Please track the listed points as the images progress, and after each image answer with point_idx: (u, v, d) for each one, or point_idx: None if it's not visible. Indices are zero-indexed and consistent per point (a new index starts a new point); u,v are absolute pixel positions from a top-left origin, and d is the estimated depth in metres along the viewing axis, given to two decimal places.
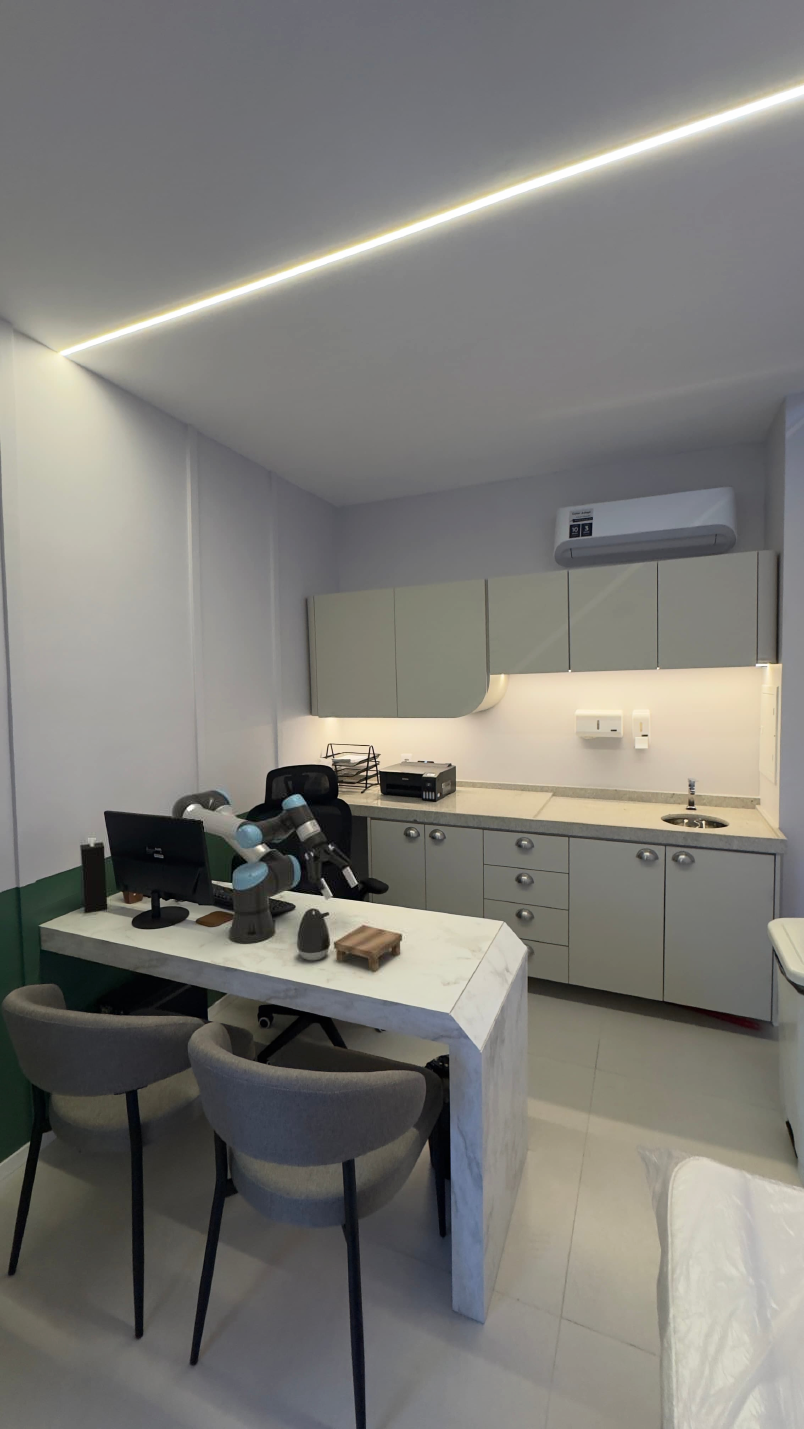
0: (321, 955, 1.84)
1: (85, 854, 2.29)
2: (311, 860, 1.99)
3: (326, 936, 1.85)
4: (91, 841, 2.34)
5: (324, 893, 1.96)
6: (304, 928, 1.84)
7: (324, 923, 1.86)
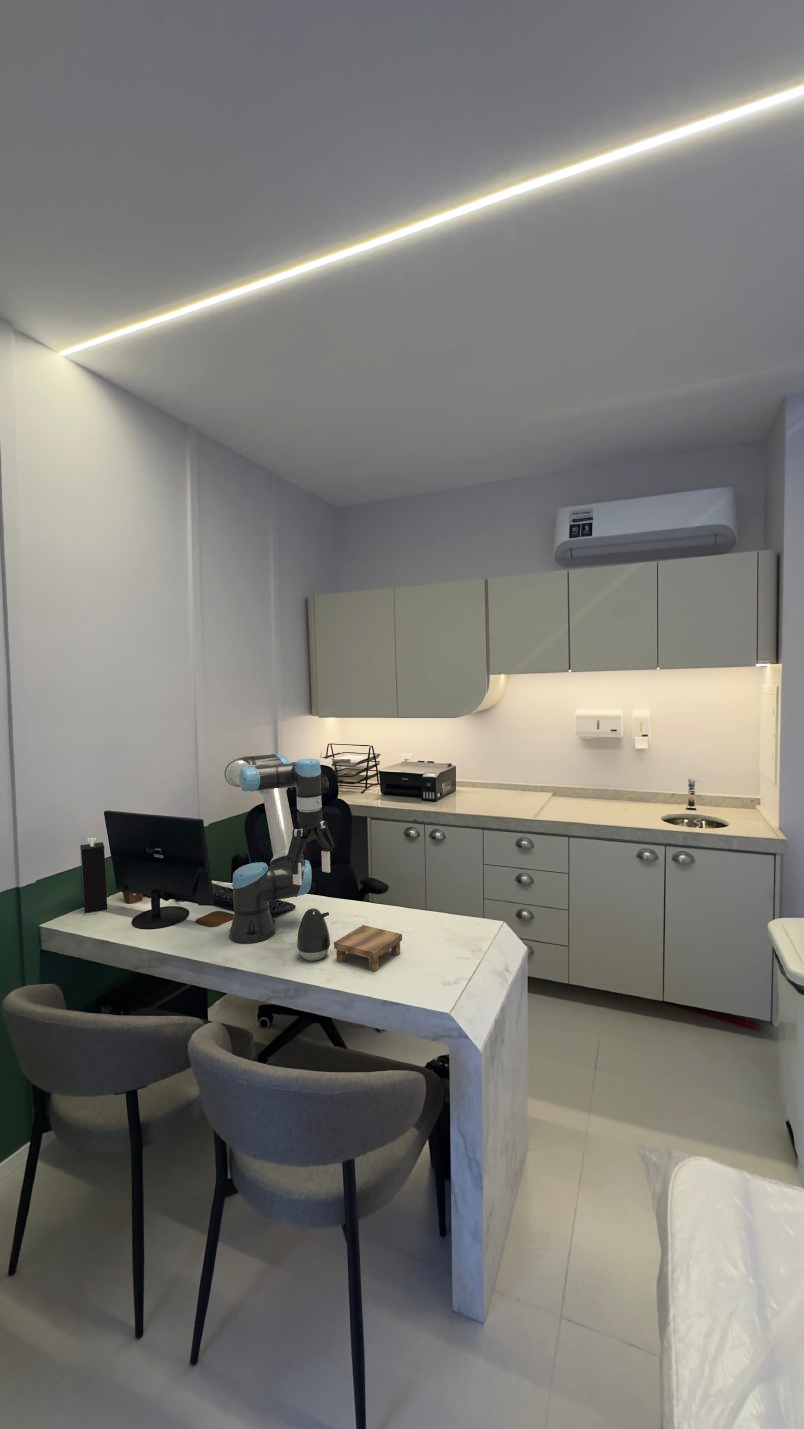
0: (321, 955, 1.84)
1: (85, 854, 2.29)
2: (298, 840, 1.80)
3: (326, 936, 1.85)
4: (91, 841, 2.34)
5: (294, 876, 1.81)
6: (304, 928, 1.84)
7: (324, 923, 1.86)
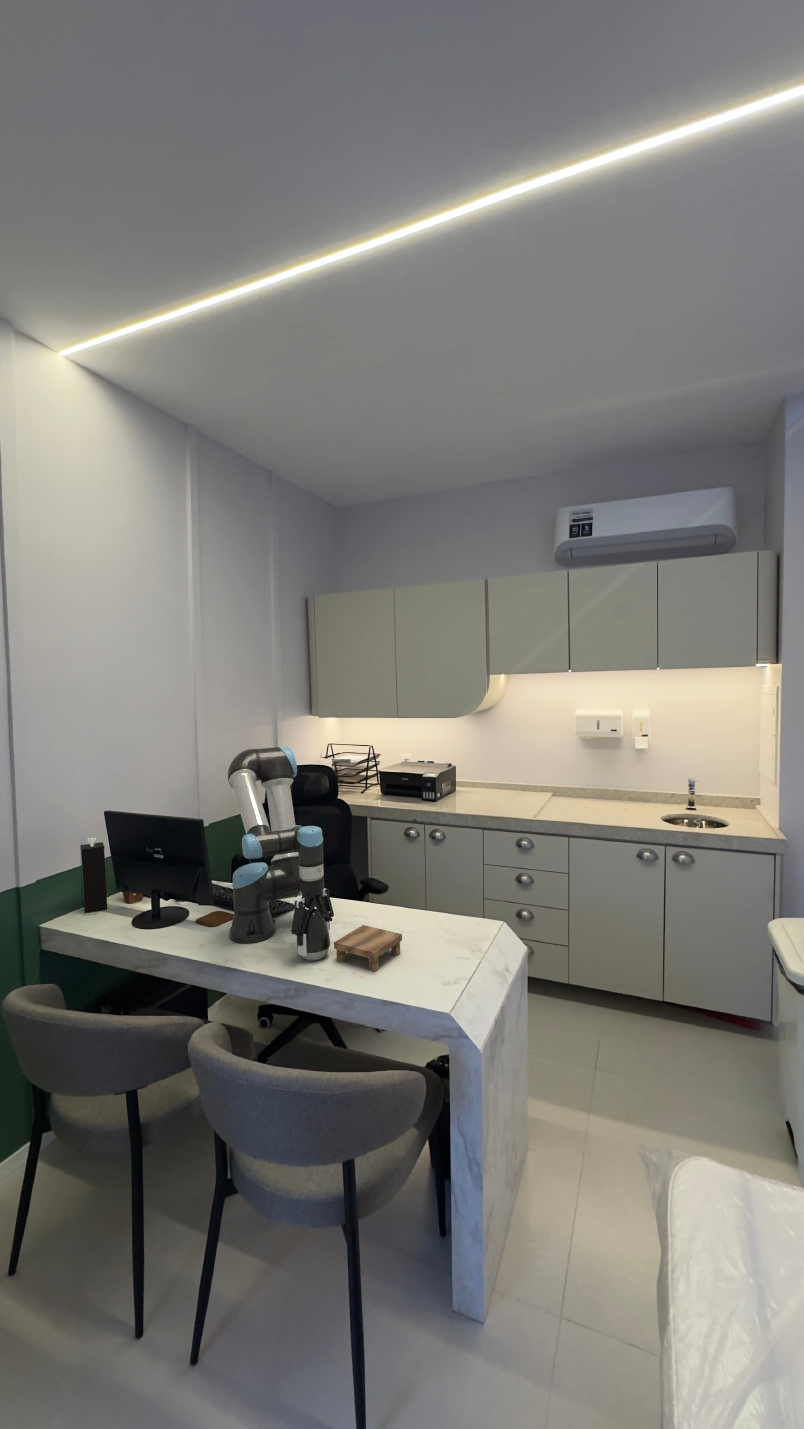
0: (321, 955, 1.84)
1: (85, 854, 2.29)
2: (301, 912, 1.81)
3: (326, 936, 1.85)
4: (91, 841, 2.34)
5: (299, 947, 1.83)
6: None
7: (324, 923, 1.86)
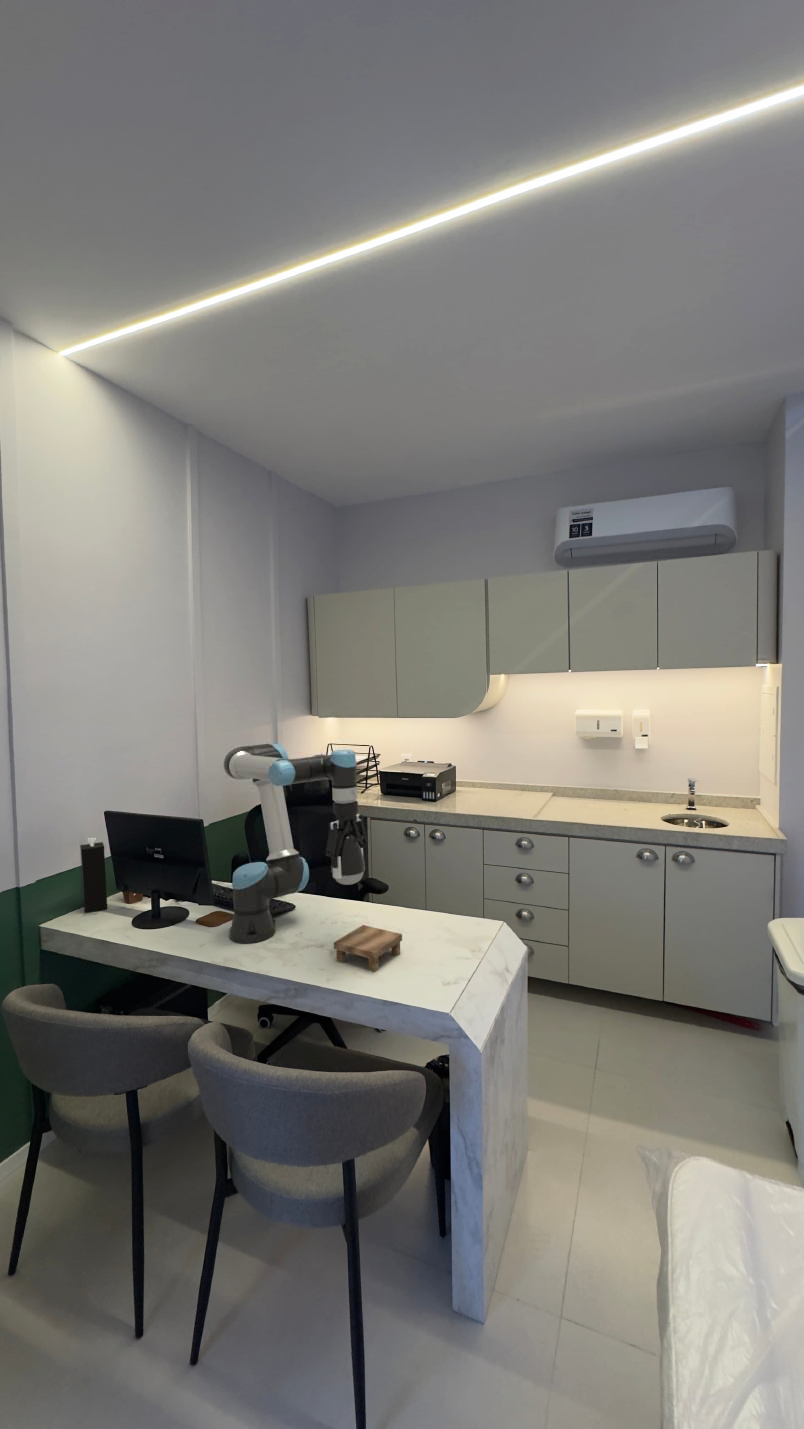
0: (356, 878, 1.82)
1: (85, 854, 2.29)
2: (335, 833, 1.78)
3: (360, 860, 1.83)
4: (91, 841, 2.34)
5: (334, 870, 1.81)
6: None
7: (358, 847, 1.84)
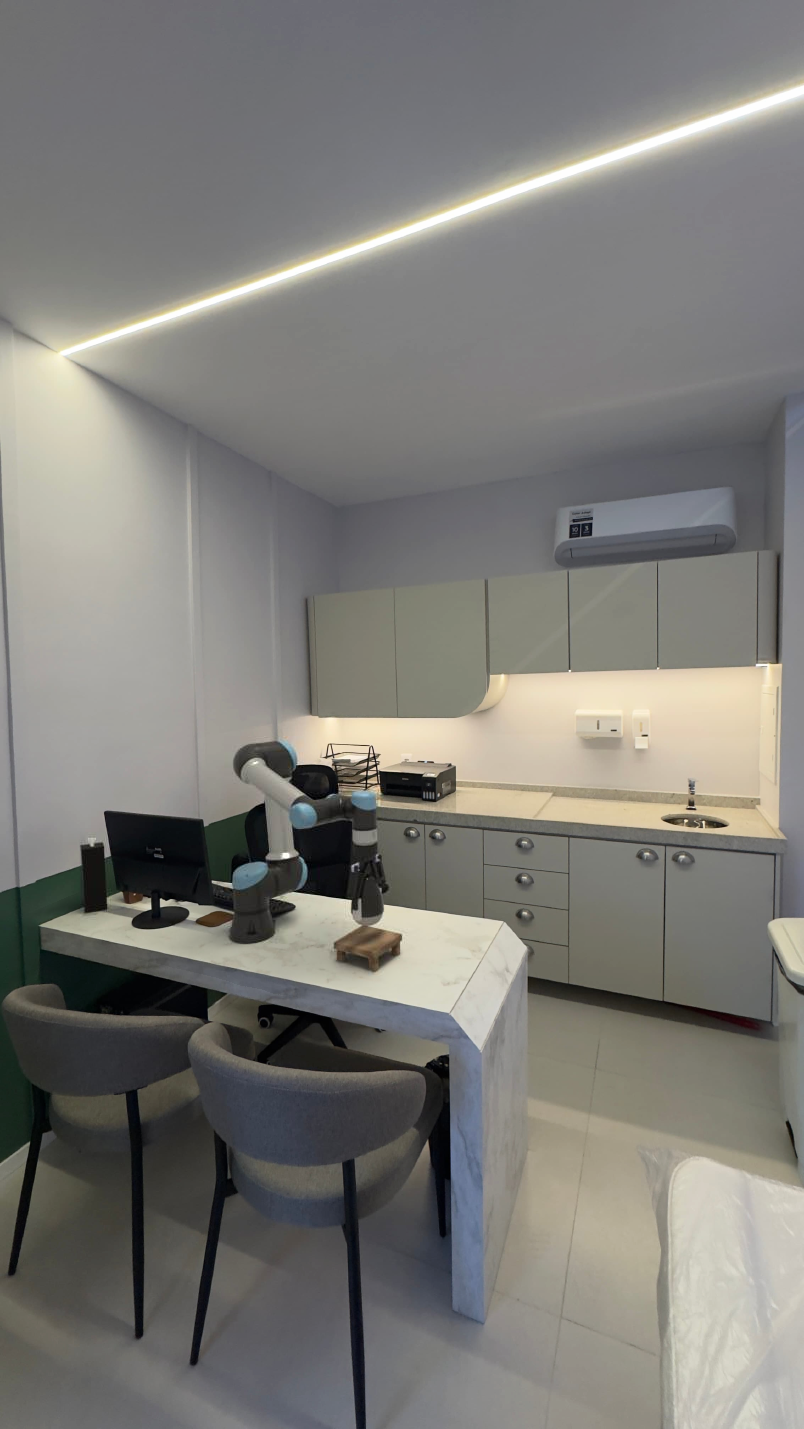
0: (376, 920, 1.82)
1: (85, 854, 2.29)
2: (356, 876, 1.79)
3: (380, 901, 1.83)
4: (91, 841, 2.34)
5: (354, 912, 1.81)
6: None
7: (378, 888, 1.84)
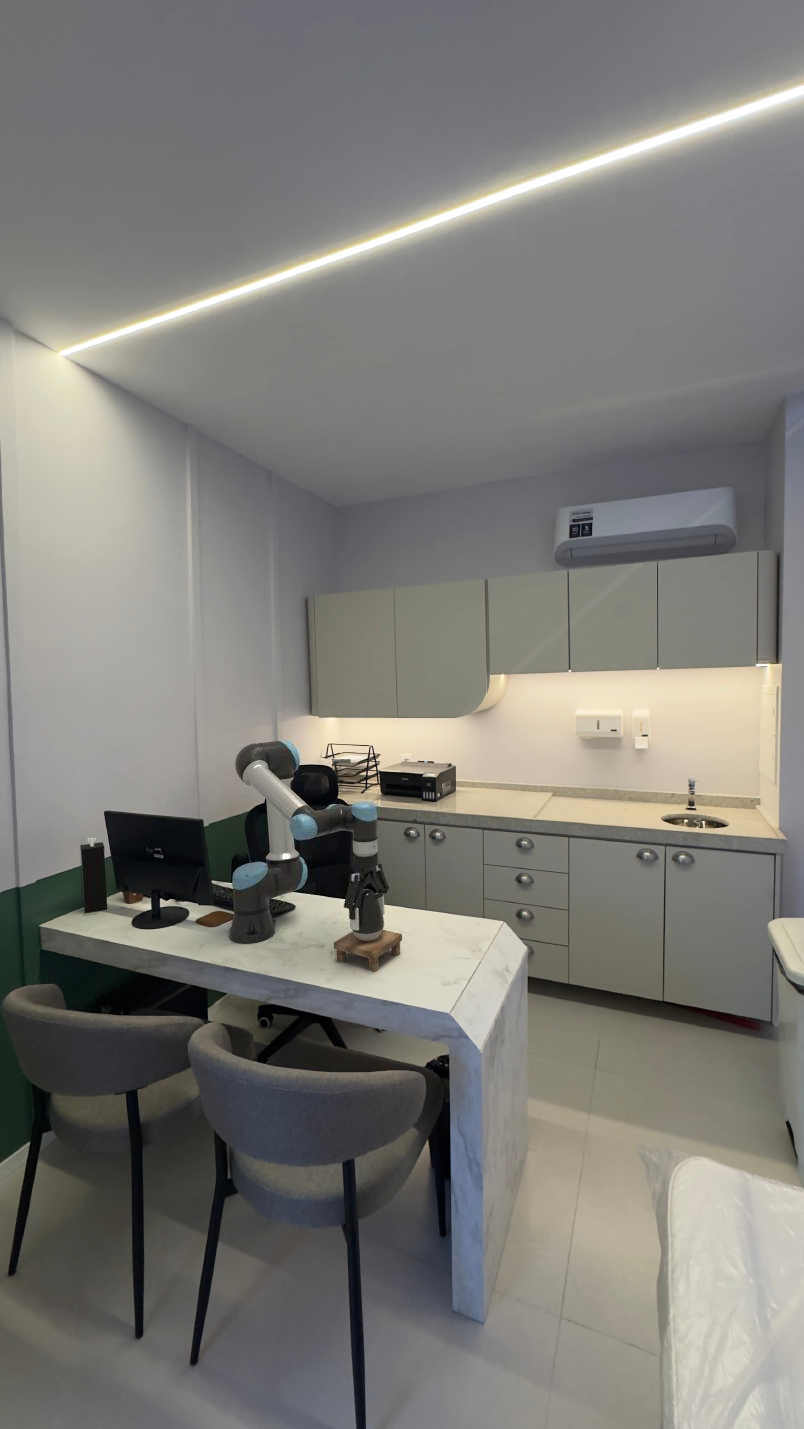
0: (376, 936, 1.83)
1: (85, 854, 2.29)
2: (355, 886, 1.79)
3: (380, 917, 1.83)
4: (91, 841, 2.34)
5: (351, 921, 1.80)
6: (359, 909, 1.82)
7: (378, 904, 1.84)
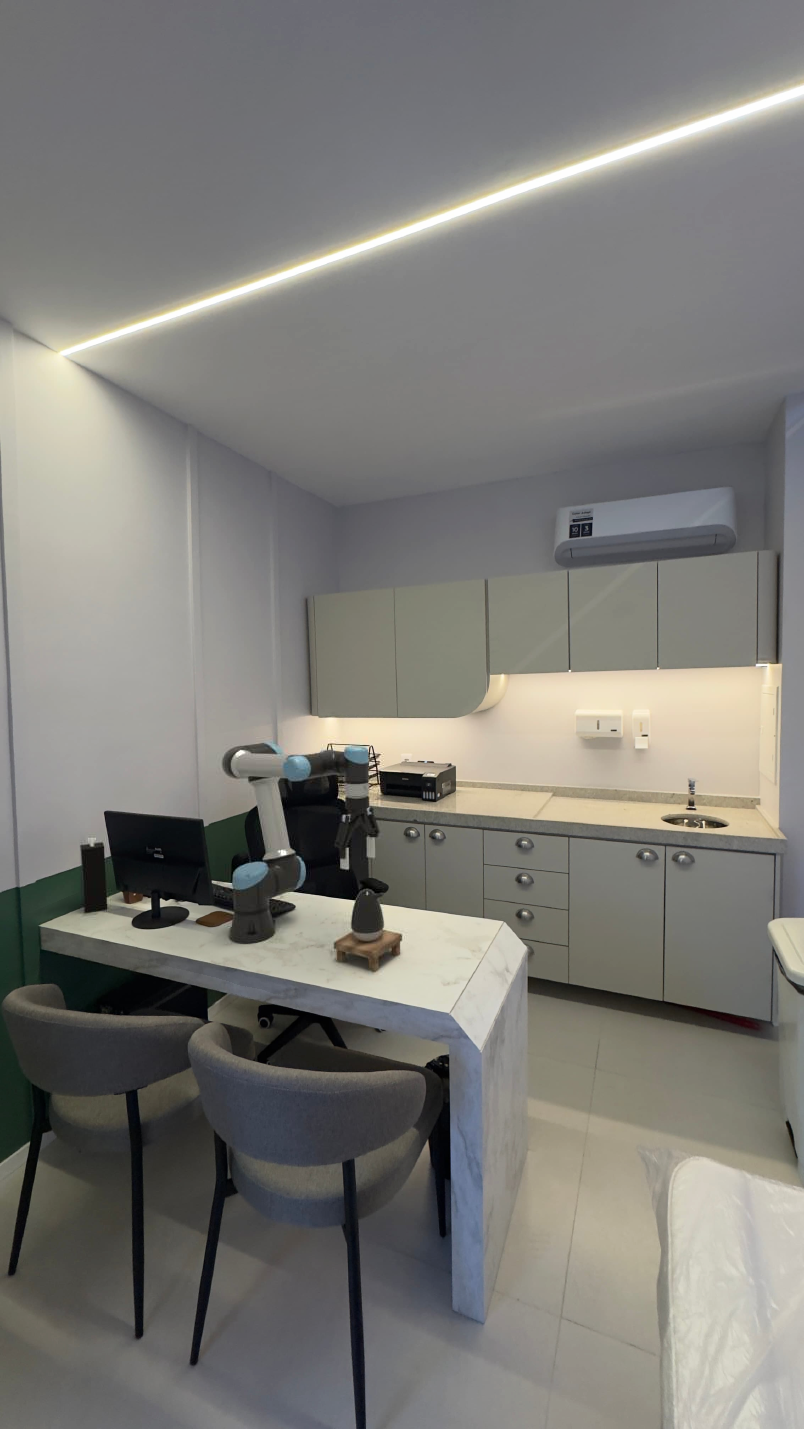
0: (376, 936, 1.83)
1: (85, 854, 2.29)
2: (346, 826, 1.83)
3: (380, 917, 1.84)
4: (91, 841, 2.34)
5: (342, 861, 1.84)
6: (359, 908, 1.82)
7: (378, 904, 1.85)
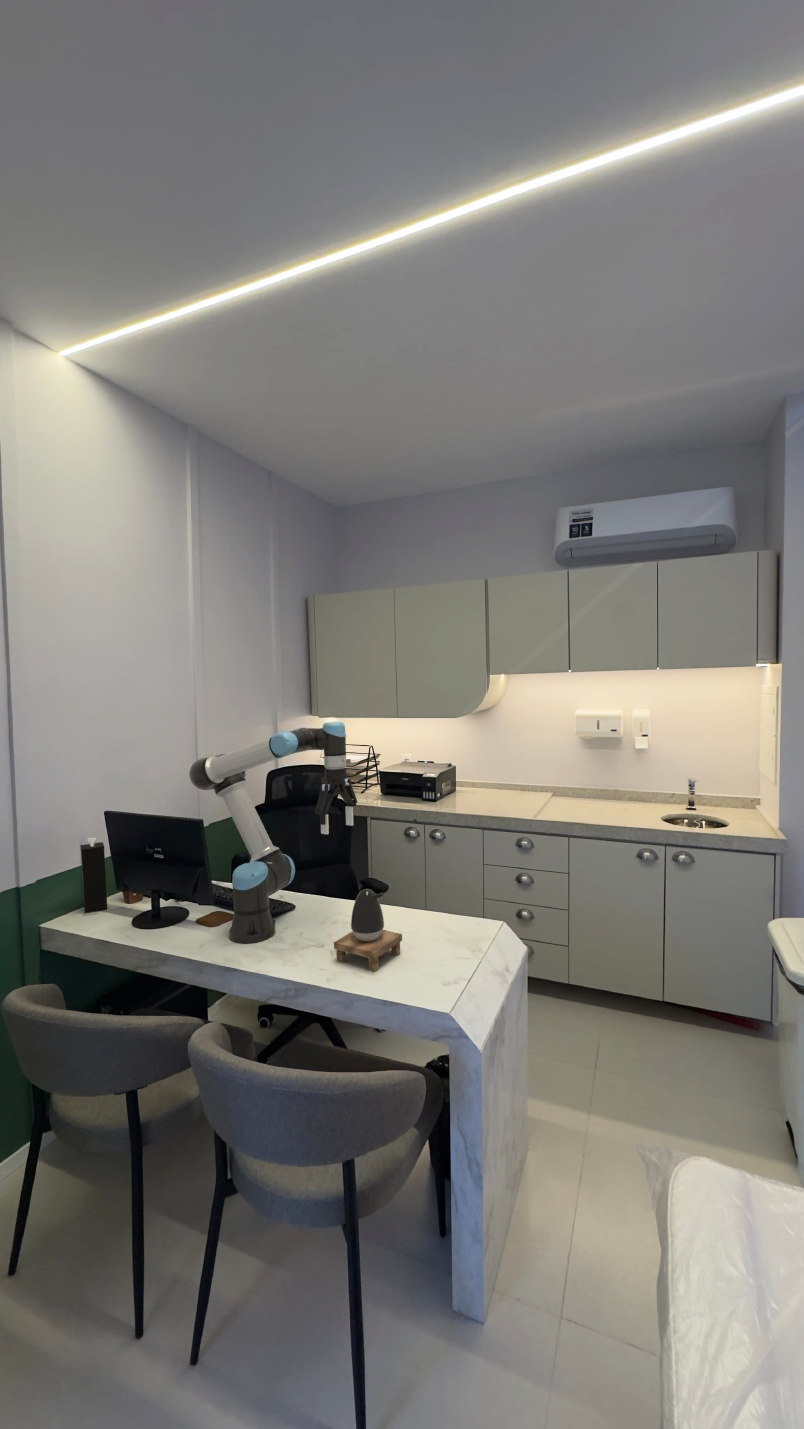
0: (376, 936, 1.83)
1: (85, 854, 2.29)
2: (325, 794, 2.00)
3: (380, 917, 1.84)
4: (91, 841, 2.34)
5: (322, 827, 2.01)
6: (359, 908, 1.82)
7: (378, 904, 1.85)
